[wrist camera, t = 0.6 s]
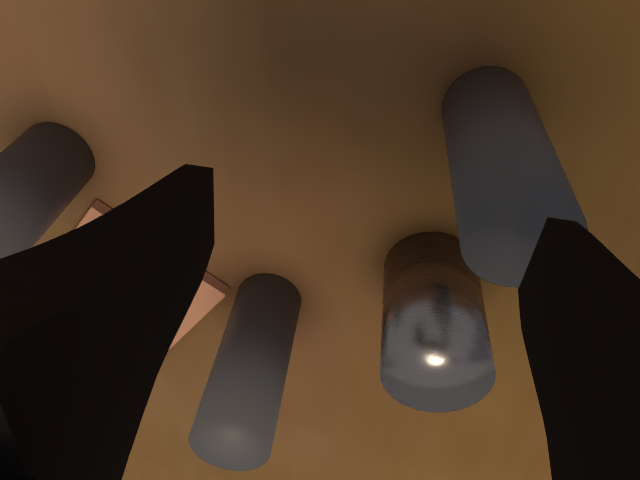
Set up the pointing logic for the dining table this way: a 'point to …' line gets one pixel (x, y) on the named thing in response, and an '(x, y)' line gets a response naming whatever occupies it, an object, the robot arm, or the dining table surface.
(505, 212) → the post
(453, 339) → the shiny metal cylinder
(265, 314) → the post corner
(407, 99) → the dining table surface
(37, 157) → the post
